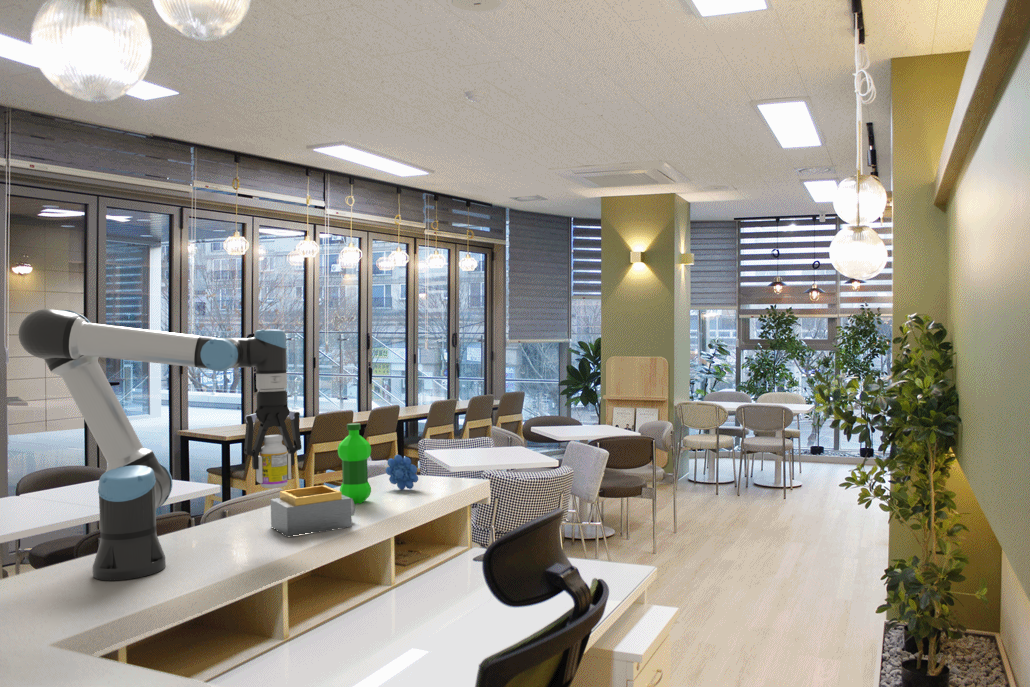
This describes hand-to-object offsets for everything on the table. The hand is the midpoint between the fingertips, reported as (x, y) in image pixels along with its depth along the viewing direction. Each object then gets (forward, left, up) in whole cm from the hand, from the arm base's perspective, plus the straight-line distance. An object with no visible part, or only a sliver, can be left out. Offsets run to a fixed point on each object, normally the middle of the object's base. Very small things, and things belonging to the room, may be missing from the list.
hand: (274, 480), depth 202 cm
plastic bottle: (+37, +36, -17) cm, 54 cm away
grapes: (+57, +44, -17) cm, 74 cm away
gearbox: (+16, +13, -17) cm, 26 cm away
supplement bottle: (0, 0, -2) cm, 2 cm away
